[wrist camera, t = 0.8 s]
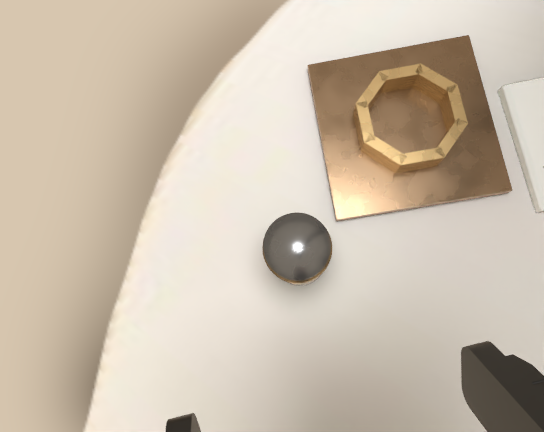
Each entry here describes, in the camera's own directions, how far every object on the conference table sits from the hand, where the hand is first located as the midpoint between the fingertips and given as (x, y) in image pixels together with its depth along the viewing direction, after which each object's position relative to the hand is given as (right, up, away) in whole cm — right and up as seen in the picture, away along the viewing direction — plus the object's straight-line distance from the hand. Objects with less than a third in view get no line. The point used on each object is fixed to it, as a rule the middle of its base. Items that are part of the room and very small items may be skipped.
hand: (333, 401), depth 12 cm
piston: (+1, +1, +28) cm, 28 cm away
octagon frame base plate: (+11, +14, +29) cm, 34 cm away
